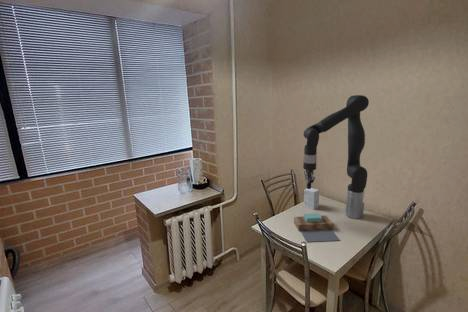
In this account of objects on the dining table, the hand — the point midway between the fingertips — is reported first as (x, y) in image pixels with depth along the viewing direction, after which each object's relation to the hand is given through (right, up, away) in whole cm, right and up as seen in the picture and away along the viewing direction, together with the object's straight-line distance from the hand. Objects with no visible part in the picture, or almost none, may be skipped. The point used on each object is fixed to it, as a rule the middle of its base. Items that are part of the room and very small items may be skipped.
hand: (308, 188), depth 153 cm
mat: (+1, -24, -15) cm, 29 cm away
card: (+1, -18, -5) cm, 19 cm away
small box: (+8, -16, +21) cm, 28 cm away
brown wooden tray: (+1, -22, -5) cm, 23 cm away
